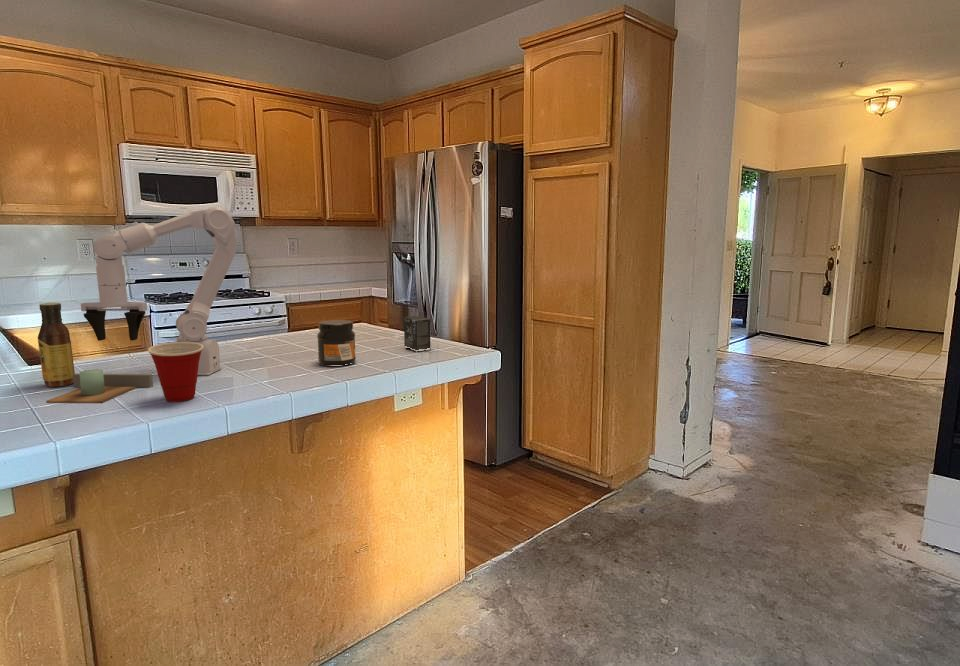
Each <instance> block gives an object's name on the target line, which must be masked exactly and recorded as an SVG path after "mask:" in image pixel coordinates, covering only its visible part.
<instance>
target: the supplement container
mask: <svg viewBox="0 0 960 666" xmlns="http://www.w3.org/2000/svg"><path fill="white" fill-rule="evenodd" d="M353 329H354V322H353V321H351V320H346V319H332V320H329V319H328V320H324V321H319V322H318V330H319V331H318V333H316V334H317V335H316V337H317V350H318V351H317V352H318V353H317V354H318V357H317V359H318V363H319V364H320V365H321V364H323V365H345V364H350V363H353V362H354V363H355V362H356V358H357V357H356V333H355V331H354V330H353ZM354 363H353V364H354ZM323 365H322V366H323ZM350 365H351V364H350Z"/></svg>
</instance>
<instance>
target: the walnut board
mask: <svg viewBox="0 0 960 666" xmlns="http://www.w3.org/2000/svg"><path fill="white" fill-rule="evenodd" d="M104 389H105V392H104V393H102V394H98V395H89V396H86V395H81V387H78V388H76V389H74V390H71V391H68V392H65V393H64V394H60V395H58V396H56V397H53V398H49V399H48V400H45V401H46V404H50V403H51V404H52V403H53V404H54V403H56V404H58V403H59V404H60V403H63V404H64V403H67V404H69V403H70V404H104V403H105V402H108V401H110V400H112V399H115V398H117V397H119V396H121V395H123V394H126V393H129V392H131V391H133V390H134V389H136V387H104Z"/></svg>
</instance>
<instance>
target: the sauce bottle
mask: <svg viewBox="0 0 960 666" xmlns="http://www.w3.org/2000/svg"><path fill="white" fill-rule="evenodd" d="M38 306H39V311H40V314H41V324H40V325H41V326H40V327H39V333H38V335H37V344H38V352H39V358H40V365H41V373H42V380H43V382H44V385H45V386H46V387H47V388H59V387H66V386H70V385H72V384H73V385H74V380H73V375H74V374H76V371H75V364H74V356H73V347H72V340H71V336H70V335H71V334H70V330H69V328H68V327H67V326H66V325H65V324H64V322H63V319H62V311H61V310H62V303H60V302H45V303H40V304H39V305H38Z"/></svg>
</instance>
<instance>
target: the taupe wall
mask: <svg viewBox="0 0 960 666" xmlns="http://www.w3.org/2000/svg"><path fill="white" fill-rule="evenodd" d="M103 375H104V387H135V388H152V387H154V381H153V373H103ZM73 380H74V383H73V387H74V388H81V385H80V373H75V374H74V375H73Z"/></svg>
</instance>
